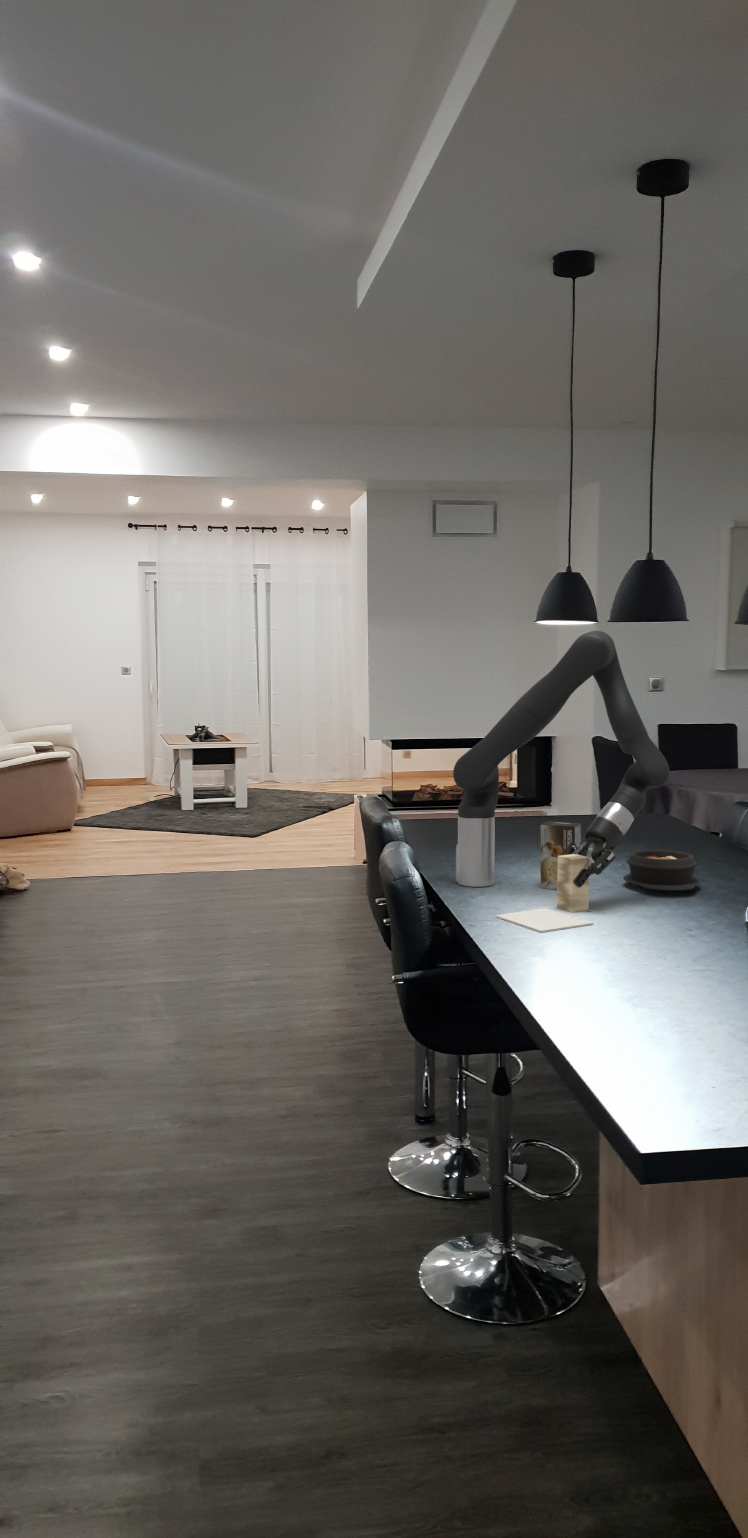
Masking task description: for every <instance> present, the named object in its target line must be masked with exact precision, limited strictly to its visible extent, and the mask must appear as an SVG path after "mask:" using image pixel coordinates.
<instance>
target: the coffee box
mask: <svg viewBox="0 0 748 1538" xmlns="http://www.w3.org/2000/svg"><path fill="white" fill-rule="evenodd" d="M582 829H583V824H582V823H579V822H578V823H577V822H562V821H561V822H560V821H550V820H548V821H545V822H543V823H542V824H540V888H542V889H551V890H557V871H558V856H561V855H564V854H565V852H566V850H567V848H568V846H569V844H570V842H572V841H574V842H575V843H576V844H579V843H580V842H581V841H583V839H582V837H583V835H582V834H583V832H582Z"/></svg>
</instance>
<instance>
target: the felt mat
mask: <svg viewBox="0 0 748 1538" xmlns="http://www.w3.org/2000/svg"><path fill="white" fill-rule="evenodd" d="M495 918H497V919H500V920H502V921H506V922H509V923H512V924H515V925H518V926H519V927H522V928H523V927H524V928H527V929H529V930H533V931H536V932H538V933H540V934H541V933H549V932H555V931H560V930H561V931H562V930H568V929H569V930H570V929H573V928H575V929H576V928H581V927H586V926H587V927H588V926H593V925H594V922H592V921H589V920H586V919H583V918H580V917H575V916H573V915H569V914H566V913H563V912H559V911H557V910H552V909H549V908H546V907H544V908H538V909H531V910H523V911H516V912H510V913H501V914H495Z"/></svg>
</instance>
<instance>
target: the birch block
mask: <svg viewBox="0 0 748 1538" xmlns="http://www.w3.org/2000/svg"><path fill="white" fill-rule="evenodd" d="M587 858H588V857H586V856H582V855H575V854H570V855H561V856H558V871H557V889H556V890H557V891H556V896H557V897H556V908H557V909H559V910H562V911H565V912H570V913H575V912H582V911H583V912H584V911H588V910H589V901H590V900H589V899H590V895H589V894H590V877H589V878H588V879H587V880H586V882H585V883H584V884H583V885H582V886H581V887H577V886H576V885H575V884H574V879H575V878H576V877H577V875H578V874H579V873H580V871H581V870H582V869H584V865H585V864H586V863H587Z"/></svg>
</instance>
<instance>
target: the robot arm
mask: <svg viewBox="0 0 748 1538" xmlns="http://www.w3.org/2000/svg"><path fill="white" fill-rule="evenodd" d="M617 652H618V651H617V648H616V645H615V642H614V639H613V638H612V637H611V636H610V635H609V634H608V633H607V632H604V631H602V630H590V631H588V632H585V633H583V634H581V635H580V636H578V637H577V638H576V639H575V640H574V642H572V644H571V646H570V647H569V648H568V650H566V653H564V654H563V656H562V657H561V659H560V660H559V661H558V663H557V664H556V665H555V666H554V667H553V668H552V669H551V670H550V671H549V672H548V673H547V674H545V675H544V676H543V677H541V679H540V680H538V681H537V682H536V683H535V684H533V685H532V686H531V687H530V688H529V689H528V690H527V691H526V692H525V693H524V694H523V695H522V696H520V698H519V699H518V700H517V701H516V702H515V703H513V705H511V707H510V708H509V710H507V712H506V713H505V714H504V715H503V716H502V717H501V718H500V719H499V720H498V721H497V723H495V725H494V726H493V727H492V728H491V730H490V731H489V732H488V733H487V734H486V735H485V736H484V737H483V738H482V739H480V741H479V742H477V743H476V744H475V745H474V746H472V747H471V748H470V749H469V750H468V751H466V752H465V753H464V754H462V755H461V756H460V757H459V758H458V759H457V761H456V762H455V764H454V767H453V772H452V777H453V781H454V783H455V785H456V786H458V787H459V788H460V789H461V790H462V789H463V790H464V792H463V793H464V794H463V796H462V797H463V798H462V799H461V802H460V803H459V805H458V807H457V844H456V846H455V882H457V884H458V885H461V886H463V887H470V888H471V887H473V888H474V887H479V888H480V887H488V886H489V887H490V886H493V885H494V884H495V840H496V839H495V836H496V835H495V833H496V832H495V829H496V827H495V826H496V825H495V824H496V823H495V821H496V820H495V819H496V816H495V815H496V808H497V805H498V801H499V786H500V785H499V784H500V771H499V765H500V763H501V762H502V761H503V760H504V759H506V758H507V757H508V756H509V755H511V754H512V753H514V752H515V751H517V750H518V749H519V748H521V747H523V746H524V745H526V744H527V743H529V742H531V741H532V740H533V739H534V738H535V737H537V736H538V735H539V734H540V733H541V732H542V731H543V730H544V729H546V727H547V726H548V725H549V724H550V723H552V721H553V720H554V719H555V718H556V716H557V715H558V714H559V713H560V711H561V710H562V708H563V707H564V705H566V703H567V701H568V700H569V698H570V697H571V696H572V694H573V693H574V692H575V691H576V690H577V689H578V688H579V687H581V685H583V684H584V683H585V682H586V681H588V680H589V679H590V678H591V677H592V676H593V679H595V681H596V683H597V686H598V688H599V691H600V693H601V696H602V699H603V702H604V707H605V711H606V714H607V718H608V721H609V725H610V726H611V730H612V731H613V733H614V736H615V738H616V740H617V743H618V745H619V747H620V749H621V750H622V752H623V753H624V754H627V755H631V756H632V757H633V759H634V761H635V762H634V763H632V764H631V765H630V766H629V767H628V769H627V770H626V771H625V774H624V776H623V777H622V780H621V782H620V785H619V787H618V789H617V790H616V792H615V793H614V794H613V796H612V797H611V798H610V800H609V801H608V802H607V803H606V805H604V806H603V808H602V809H601V810H600V811H599V813H598V814H597V815H596V817H595V818H594V819H593V821H592V822H591V823H590V825H588V827H587V828H586V830H585V838H584V839H582V841H581V842H580V843H579V844H576V843H575V842H574V841H572V842H570V844H569V846H568V848H567V850H566V852H565V854H564V855H570V854H575V855H582V856H586V857H588V858H587V863H586V864H585V865H584V869H582V870H581V871H580V873H579V874H578V875H577V877H576V878H575V879H574V884H575V885H576V886H577V887H581V886H582V885H583V884H584V883H585V882H586V880H587V879H588V878H589V879H590V877H591V876H593V875H594V874H595V875H596V876H599V875H601V873H602V872H603V871H605V869H606V868H607V867H608V866H610V864H611V863H612V862H613V861H614V860H615V859H616V858H617V857H616V854H614V853H613V851H614V850H615V849H616V847H617V846H618V844H619V843H620V841H621V840H622V839H623V837H624V836H625V835H626V834H627V832H628V831H629V829H630V828H631V826H632V823H633V822H634V820H635V819H636V818H637V816H638V815H639V813H640V812H641V811H642V810H643V807H644V805H646V798H645V794H646V793H647V792H648V791H649V789H653V788H655V789H656V788H659V787H662V786H664V785H666V783H668V781H669V779H670V774H671V773H670V766H669V763H668V760H667V759H666V758H665V756H664V755H663V754H664V753H662V752H661V751H660V749H659V748H658V746H657V745H656V744H655V743H654V742H653V740H652V738H650V736H649V734H648V731H647V728H646V727H645V724H644V721H643V720H642V718H641V715H640V714H639V711H638V709H637V706H636V705H635V703H634V700H633V698H632V696H631V694H630V691H629V688H628V685H627V683H626V680H625V677H624V674H623V671H622V668H621V664H620V663H621V662H620V660H619V656H618V653H617ZM600 864H601V865H600ZM599 865H600V866H599Z"/></svg>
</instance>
